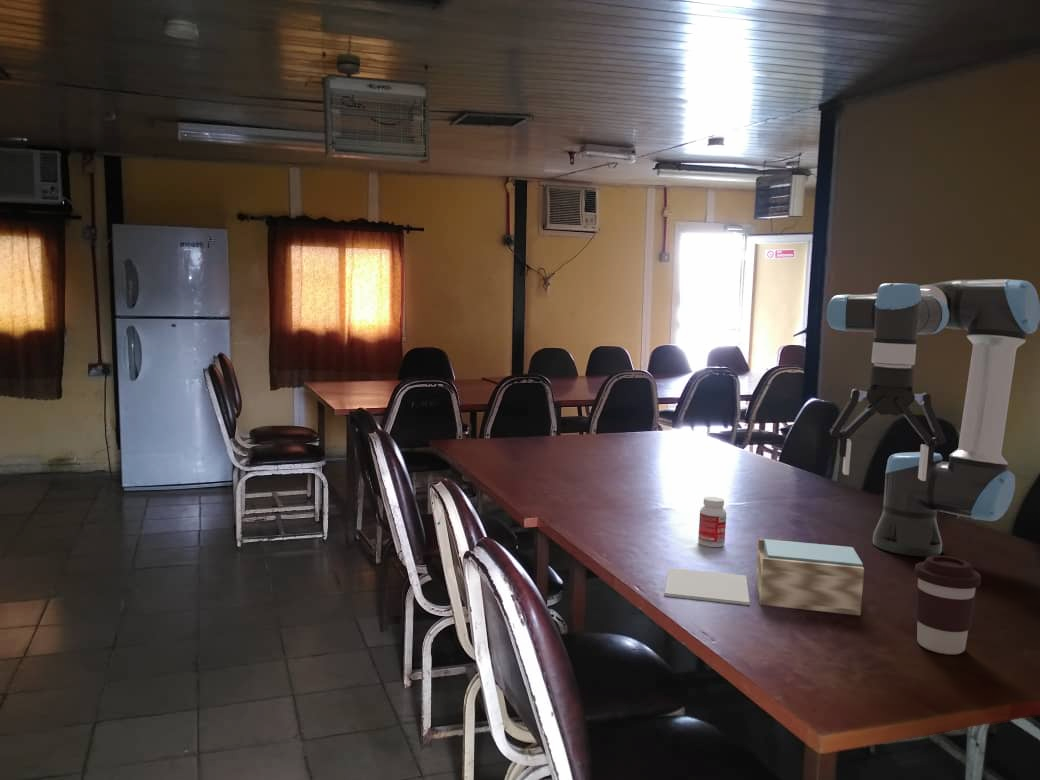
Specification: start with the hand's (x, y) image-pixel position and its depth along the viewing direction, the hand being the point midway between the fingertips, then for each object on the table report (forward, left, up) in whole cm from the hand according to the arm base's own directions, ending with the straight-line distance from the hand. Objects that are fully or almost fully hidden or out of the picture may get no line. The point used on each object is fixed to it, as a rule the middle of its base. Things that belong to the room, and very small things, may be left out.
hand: (883, 476), depth 157 cm
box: (+13, +1, -25) cm, 28 cm away
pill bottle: (+31, -30, -25) cm, 50 cm away
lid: (+12, +1, -18) cm, 22 cm away
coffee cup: (-7, +19, -25) cm, 32 cm away
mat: (+32, +1, -25) cm, 40 cm away
